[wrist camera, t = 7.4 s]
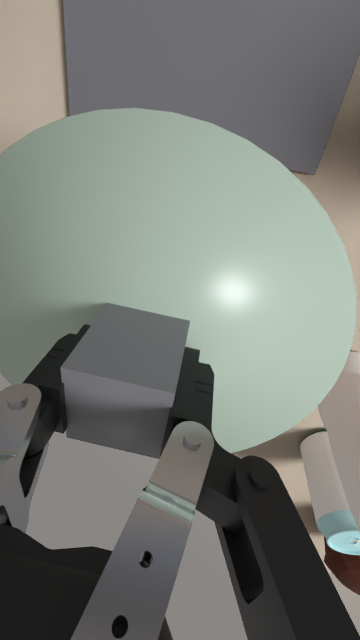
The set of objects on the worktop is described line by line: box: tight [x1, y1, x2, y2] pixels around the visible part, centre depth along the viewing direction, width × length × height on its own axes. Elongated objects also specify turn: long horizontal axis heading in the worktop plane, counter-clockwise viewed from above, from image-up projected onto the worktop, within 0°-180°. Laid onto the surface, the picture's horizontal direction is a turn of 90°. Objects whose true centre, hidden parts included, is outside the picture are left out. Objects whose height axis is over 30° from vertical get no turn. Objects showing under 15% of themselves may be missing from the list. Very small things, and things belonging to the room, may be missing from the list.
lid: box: [0, 108, 356, 459], centre depth 11 cm, size 17×17×5 cm
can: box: [300, 431, 360, 555], centre depth 35 cm, size 7×7×12 cm
